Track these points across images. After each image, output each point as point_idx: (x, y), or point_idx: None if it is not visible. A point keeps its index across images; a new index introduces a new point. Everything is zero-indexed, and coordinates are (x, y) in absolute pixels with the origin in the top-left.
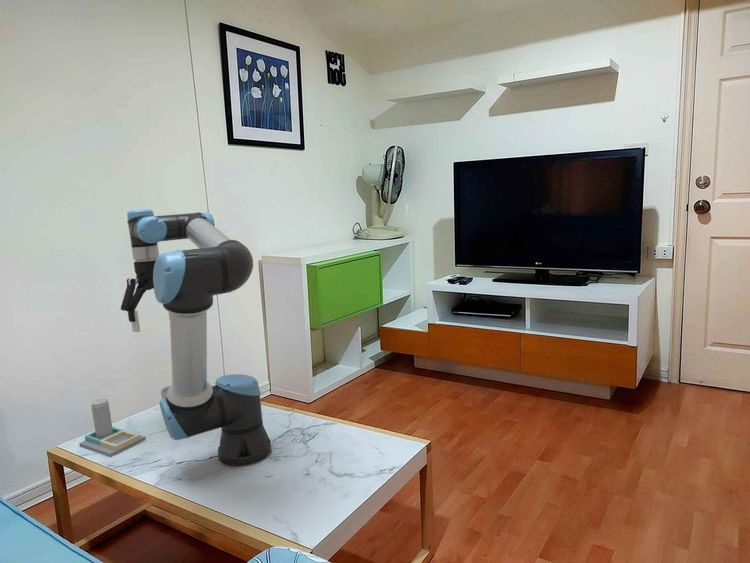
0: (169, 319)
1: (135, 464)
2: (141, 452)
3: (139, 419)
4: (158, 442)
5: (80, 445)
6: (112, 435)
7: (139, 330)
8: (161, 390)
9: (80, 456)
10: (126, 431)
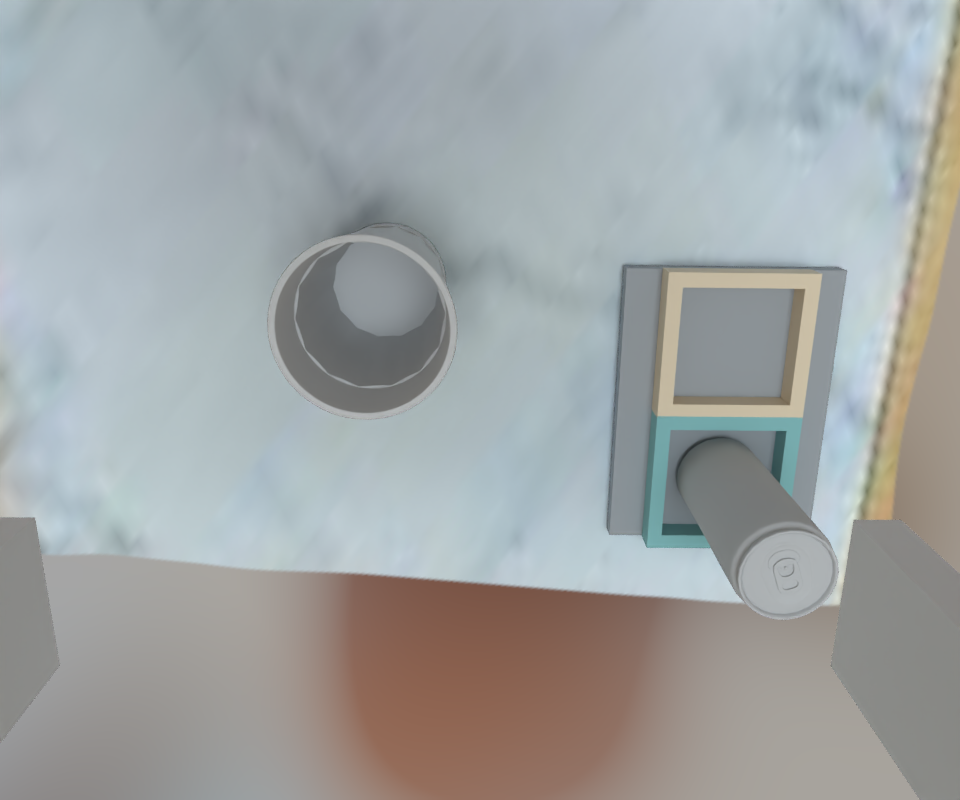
0: (46, 682)
1: (858, 53)
2: (743, 150)
3: (458, 526)
4: (619, 164)
5: None
6: (729, 413)
7: (880, 533)
8: (426, 390)
9: (881, 423)
10: (664, 385)
